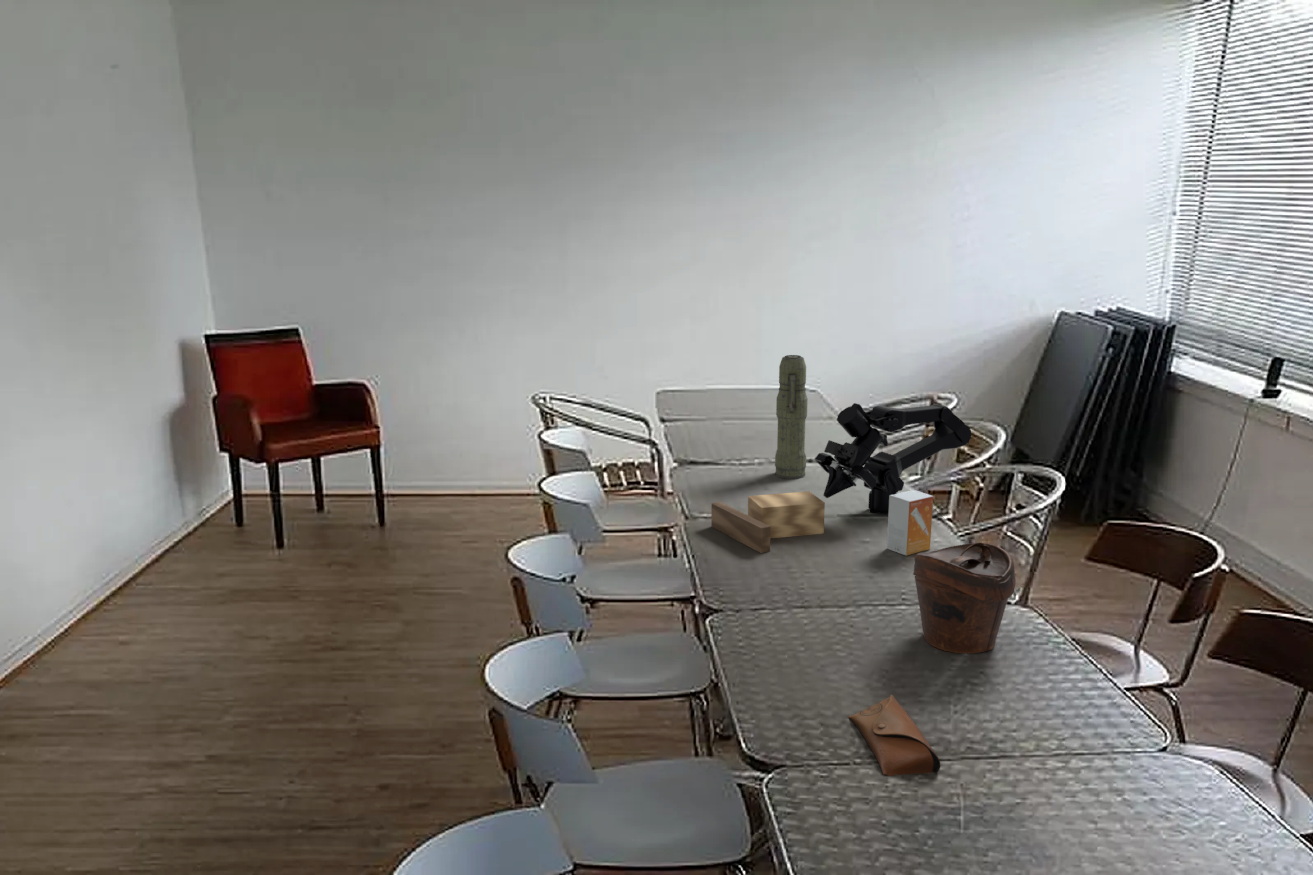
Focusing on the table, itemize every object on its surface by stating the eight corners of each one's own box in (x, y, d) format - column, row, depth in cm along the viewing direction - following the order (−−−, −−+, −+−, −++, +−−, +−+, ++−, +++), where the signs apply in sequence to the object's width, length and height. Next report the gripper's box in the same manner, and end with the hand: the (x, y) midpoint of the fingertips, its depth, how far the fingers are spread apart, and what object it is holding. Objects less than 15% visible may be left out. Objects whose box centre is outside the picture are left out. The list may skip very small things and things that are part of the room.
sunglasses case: (843, 714, 160) (866, 679, 159) (879, 732, 162) (901, 697, 161) (884, 777, 143) (909, 739, 142) (923, 796, 145) (949, 758, 144)
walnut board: (720, 524, 253) (720, 501, 251) (770, 551, 234) (770, 526, 232) (711, 526, 251) (711, 503, 250) (761, 553, 233) (761, 528, 231)
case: (1008, 621, 194) (1014, 532, 190) (1015, 668, 176) (1021, 570, 171) (912, 613, 199) (915, 526, 195) (909, 658, 180) (912, 563, 176)
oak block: (808, 521, 255) (809, 491, 253) (823, 534, 246) (824, 502, 244) (747, 527, 252) (748, 496, 250) (761, 539, 242) (761, 507, 240)
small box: (906, 556, 230) (909, 501, 227) (885, 548, 235) (888, 494, 232) (931, 549, 234) (934, 495, 231) (910, 542, 239) (913, 489, 236)
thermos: (802, 469, 303) (805, 352, 294) (808, 480, 291) (811, 359, 283) (773, 469, 303) (775, 353, 295) (777, 480, 291) (779, 359, 283)
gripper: (821, 421, 259) (785, 469, 257) (869, 436, 243) (830, 487, 240) (845, 447, 264) (809, 494, 262) (893, 464, 248) (855, 513, 246)
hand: (825, 496), depth 252 cm, fingers closed
